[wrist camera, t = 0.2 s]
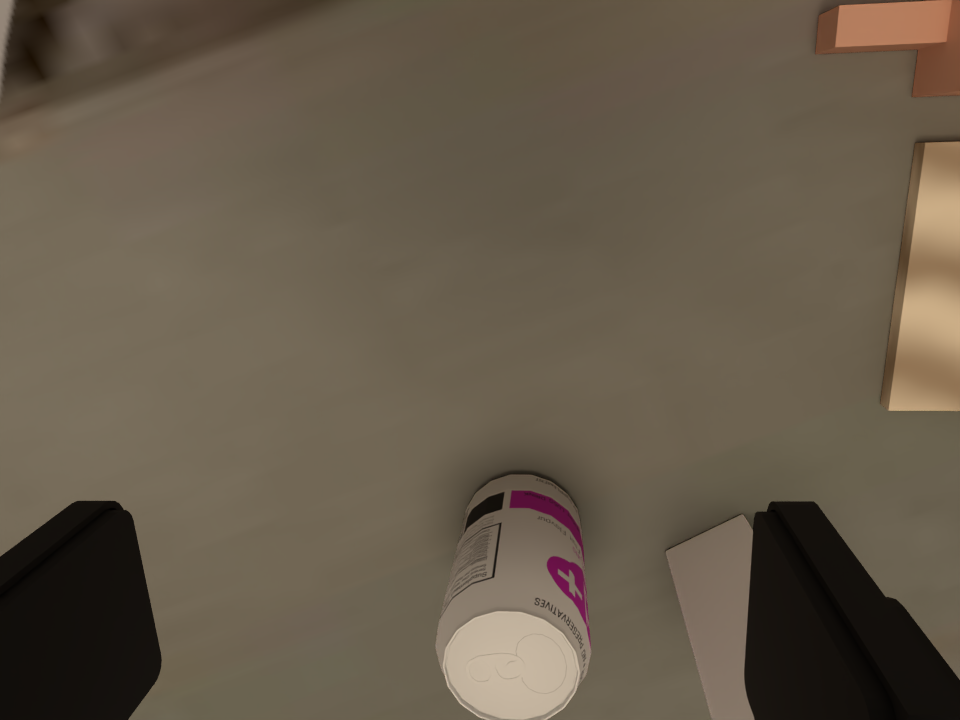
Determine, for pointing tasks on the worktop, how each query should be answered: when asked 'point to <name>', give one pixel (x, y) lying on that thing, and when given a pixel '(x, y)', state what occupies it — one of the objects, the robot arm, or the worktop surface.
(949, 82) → the square nut with handle
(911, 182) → the post base
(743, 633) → the milk
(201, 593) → the worktop surface
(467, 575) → the supplement can
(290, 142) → the worktop surface
